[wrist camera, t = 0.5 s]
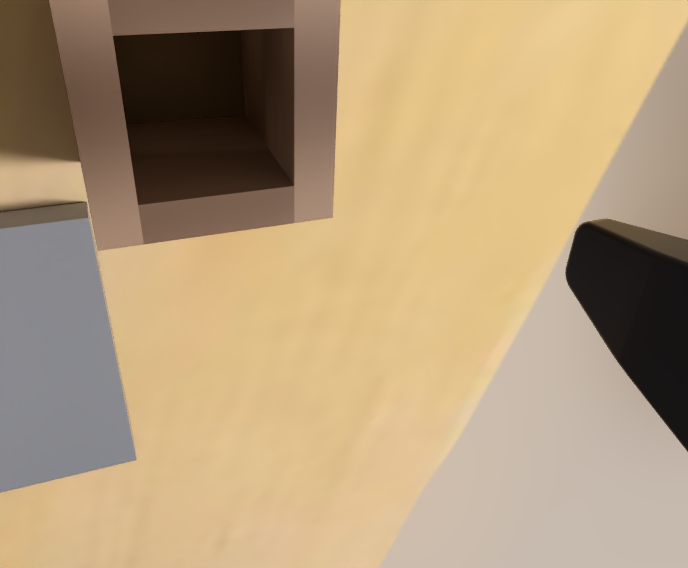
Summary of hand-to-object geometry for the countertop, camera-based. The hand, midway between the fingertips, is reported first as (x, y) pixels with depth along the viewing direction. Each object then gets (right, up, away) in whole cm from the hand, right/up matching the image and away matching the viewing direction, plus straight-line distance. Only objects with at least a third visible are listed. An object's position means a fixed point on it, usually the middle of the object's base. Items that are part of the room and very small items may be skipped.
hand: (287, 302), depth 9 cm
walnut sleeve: (-4, +6, +9) cm, 12 cm away
